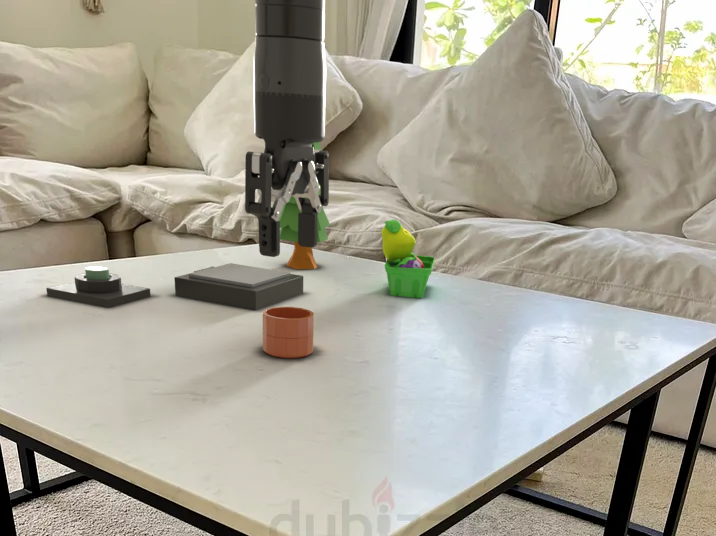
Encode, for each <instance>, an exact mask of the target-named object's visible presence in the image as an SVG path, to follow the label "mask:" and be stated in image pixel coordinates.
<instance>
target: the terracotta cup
mask: <svg viewBox="0 0 716 536" xmlns="http://www.w3.org/2000/svg"><path fill="white" fill-rule="evenodd" d="M314 333H315V312H313V311H312V310H310V309H306V308H303V307H296V306H273V307H267V308H266V309H265V308H264V309H263V311H262V351H264V353H266V354H268V355H269V356H272V357H275V358H281V359H299V358H304V357H305V358H306V357H308V356H309V355H311V354H313V353H314V336H315V335H314Z"/></svg>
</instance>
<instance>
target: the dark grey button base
mask: <svg viewBox="0 0 716 536" xmlns="http://www.w3.org/2000/svg"><path fill="white" fill-rule="evenodd" d="M109 276H110V279H105V280H91V279H86V273H81V274H76V275H75V276H74V281H72V282H68V283H63V284H58V285H53V286H49V287H46V296H47V297H51V298H55V299H59V300H66V301H70V302H76V303H79V304H86V305H91V306H96V307H101V308H106V309H109V308H114V307H118V306H122V305H124V304H128V303H132V302H136V301H140V300H144V299H146V298H151V296H152V295H151V288H148V287H143V286H137V285H133V284H126V283H122V276H121V275H118V274H117V273H110V272H109Z"/></svg>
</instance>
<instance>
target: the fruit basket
mask: <svg viewBox="0 0 716 536" xmlns="http://www.w3.org/2000/svg"><path fill="white" fill-rule="evenodd" d="M381 238H382V252H383V255H384V257H385V258H386V261H385V263H384V270H385V272H386V277H387V284H388V289H389V294H390V296H394V297H405V298H418V299H423V297H424V295H425V292H426V291H425V290H426V288H427V284H428V281H429V278H430V276H431V274H432V271H433V268H434V264H435V259H436V258H435V257H433V256H428V255H415V253H413V250H414V248H415V245H416V244H417V242H416V238H415V236H414V235H412V234H411V232H410V231H409V230H407V229H405V227H404V226H403V225H402V224H401V223H400V221H398V220H397V219H391V220H386V221H384V226H383V228H382V230H381Z"/></svg>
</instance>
